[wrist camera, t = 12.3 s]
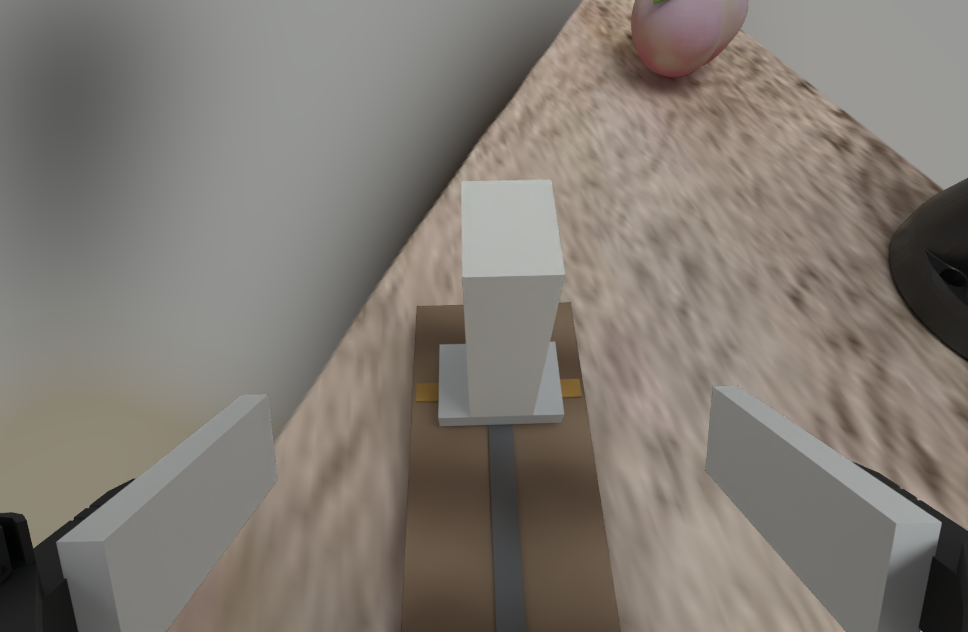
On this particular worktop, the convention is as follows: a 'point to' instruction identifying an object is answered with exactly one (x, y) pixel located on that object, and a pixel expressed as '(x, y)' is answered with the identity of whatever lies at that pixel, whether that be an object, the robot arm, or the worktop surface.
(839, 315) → the worktop surface
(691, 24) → the decorative fruit
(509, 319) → the block
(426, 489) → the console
